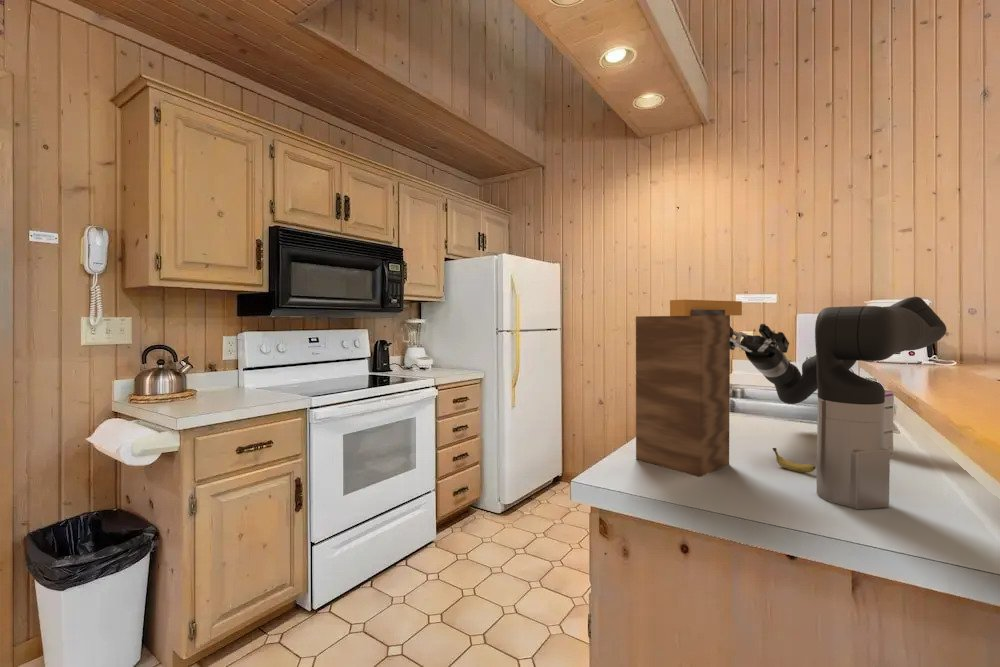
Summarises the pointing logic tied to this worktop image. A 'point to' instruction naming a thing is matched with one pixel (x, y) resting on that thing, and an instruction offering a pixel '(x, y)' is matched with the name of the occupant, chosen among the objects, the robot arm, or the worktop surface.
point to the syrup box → (888, 420)
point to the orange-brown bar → (704, 306)
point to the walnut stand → (683, 391)
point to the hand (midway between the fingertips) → (742, 326)
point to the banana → (792, 464)
